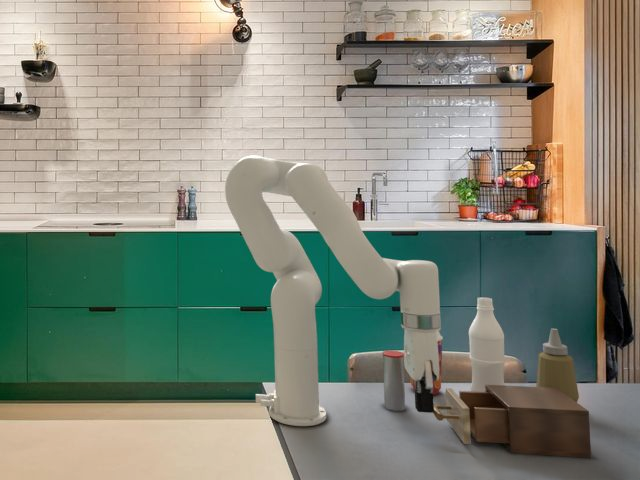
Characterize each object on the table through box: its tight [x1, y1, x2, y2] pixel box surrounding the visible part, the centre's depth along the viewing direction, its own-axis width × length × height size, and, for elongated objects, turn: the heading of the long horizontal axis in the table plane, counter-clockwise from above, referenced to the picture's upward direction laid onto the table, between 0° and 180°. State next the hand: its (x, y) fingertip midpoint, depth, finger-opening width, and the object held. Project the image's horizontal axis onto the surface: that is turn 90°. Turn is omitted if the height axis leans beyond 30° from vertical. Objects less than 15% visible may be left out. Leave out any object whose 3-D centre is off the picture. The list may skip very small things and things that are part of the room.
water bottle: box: [468, 296, 506, 392], centre depth 129 cm, size 7×7×25 cm
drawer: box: [432, 387, 509, 445], centre depth 114 cm, size 17×11×7 cm
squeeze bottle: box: [535, 328, 580, 403], centre depth 128 cm, size 8×8×18 cm
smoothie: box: [409, 331, 443, 396], centre depth 140 cm, size 8×8×20 cm
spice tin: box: [381, 350, 406, 412], centre depth 130 cm, size 5×5×12 cm
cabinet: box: [485, 385, 592, 459], centre depth 112 cm, size 14×13×9 cm
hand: (424, 410), depth 116 cm, fingers closed
